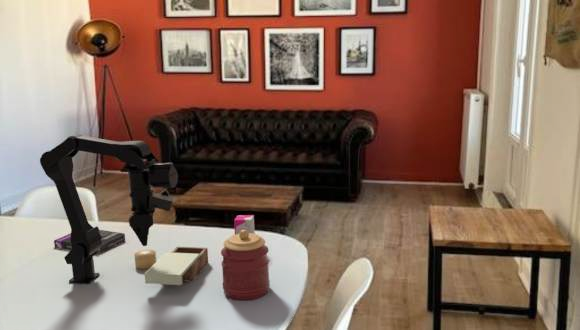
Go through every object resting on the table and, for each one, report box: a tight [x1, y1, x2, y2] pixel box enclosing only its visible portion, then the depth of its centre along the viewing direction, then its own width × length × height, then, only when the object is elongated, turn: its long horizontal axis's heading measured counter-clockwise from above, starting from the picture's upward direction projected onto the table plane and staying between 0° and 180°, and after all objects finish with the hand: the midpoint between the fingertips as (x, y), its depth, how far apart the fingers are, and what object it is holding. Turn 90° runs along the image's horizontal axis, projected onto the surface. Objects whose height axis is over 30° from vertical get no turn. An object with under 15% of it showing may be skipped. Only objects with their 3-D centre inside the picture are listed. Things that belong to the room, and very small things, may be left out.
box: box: [53, 229, 126, 255], centre depth 192 cm, size 14×4×20 cm
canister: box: [220, 230, 271, 301], centre depth 150 cm, size 13×13×18 cm
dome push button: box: [133, 249, 157, 270], centre depth 171 cm, size 6×6×4 cm
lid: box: [144, 251, 200, 286], centre depth 157 cm, size 16×10×3 cm
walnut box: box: [170, 246, 209, 282], centre depth 166 cm, size 14×10×5 cm
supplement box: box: [233, 214, 256, 235], centre depth 181 cm, size 6×6×12 cm
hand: (145, 240), depth 155 cm, fingers open, 9 cm apart
